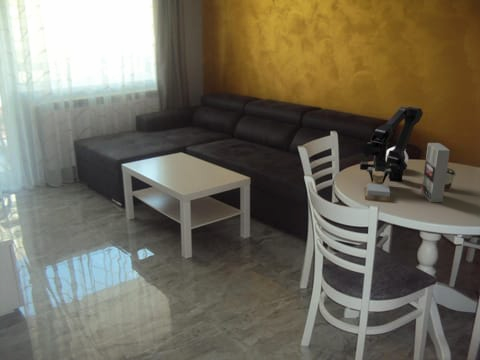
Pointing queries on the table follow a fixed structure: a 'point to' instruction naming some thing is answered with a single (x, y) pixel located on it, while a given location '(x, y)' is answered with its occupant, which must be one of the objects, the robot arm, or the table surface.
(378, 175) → the tan rounded piece
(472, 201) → the table surface
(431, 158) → the grey handheld device
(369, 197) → the tower base block
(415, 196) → the table surface
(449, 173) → the food container
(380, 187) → the tower top block
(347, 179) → the table surface
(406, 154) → the geodesic sphere
